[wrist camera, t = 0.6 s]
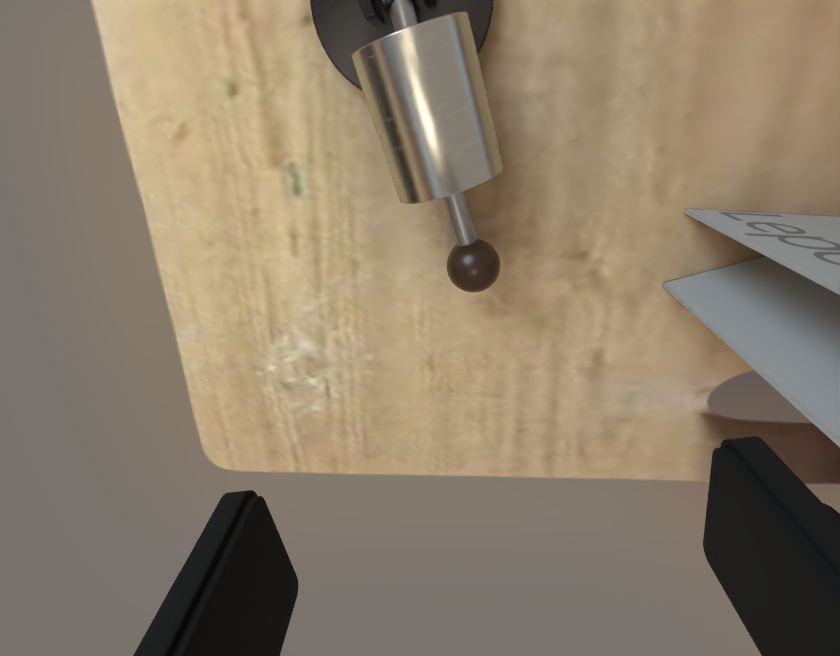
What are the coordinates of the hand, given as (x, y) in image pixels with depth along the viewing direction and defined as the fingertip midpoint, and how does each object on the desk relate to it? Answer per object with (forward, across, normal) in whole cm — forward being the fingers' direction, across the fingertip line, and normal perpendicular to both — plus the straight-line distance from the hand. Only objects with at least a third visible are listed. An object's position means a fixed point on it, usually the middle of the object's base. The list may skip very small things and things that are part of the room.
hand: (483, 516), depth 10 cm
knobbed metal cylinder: (+23, 0, -6) cm, 24 cm away
